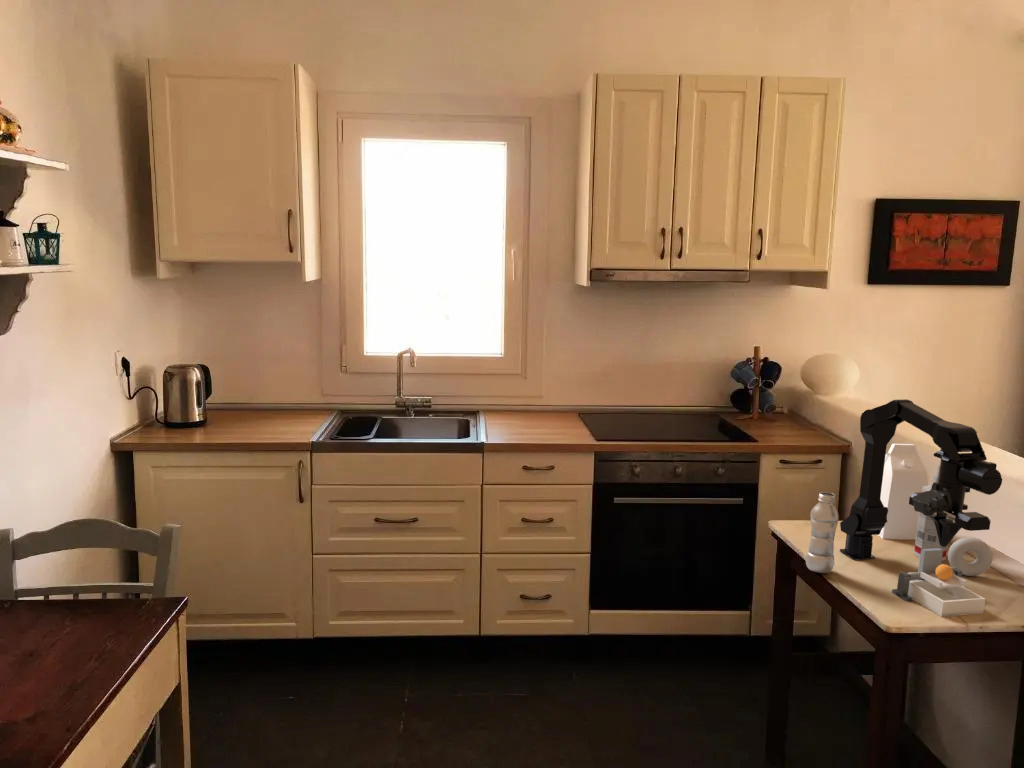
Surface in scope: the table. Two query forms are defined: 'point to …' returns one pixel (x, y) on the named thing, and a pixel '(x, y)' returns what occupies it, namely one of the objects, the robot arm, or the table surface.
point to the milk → (901, 490)
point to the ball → (944, 572)
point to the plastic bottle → (822, 534)
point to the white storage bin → (946, 599)
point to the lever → (928, 567)
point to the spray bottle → (928, 529)
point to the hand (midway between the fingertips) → (943, 546)
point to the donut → (970, 544)
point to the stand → (904, 584)
